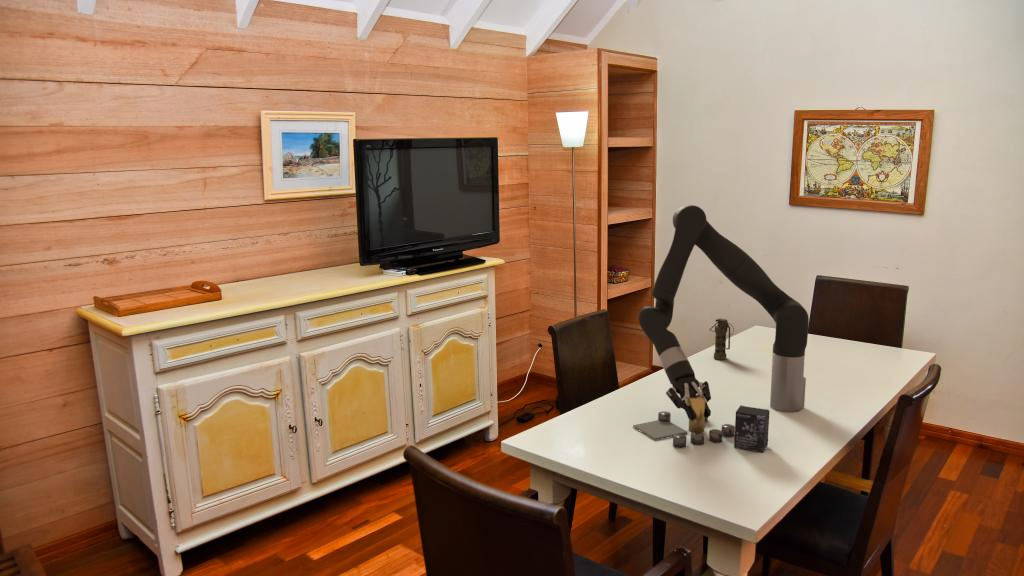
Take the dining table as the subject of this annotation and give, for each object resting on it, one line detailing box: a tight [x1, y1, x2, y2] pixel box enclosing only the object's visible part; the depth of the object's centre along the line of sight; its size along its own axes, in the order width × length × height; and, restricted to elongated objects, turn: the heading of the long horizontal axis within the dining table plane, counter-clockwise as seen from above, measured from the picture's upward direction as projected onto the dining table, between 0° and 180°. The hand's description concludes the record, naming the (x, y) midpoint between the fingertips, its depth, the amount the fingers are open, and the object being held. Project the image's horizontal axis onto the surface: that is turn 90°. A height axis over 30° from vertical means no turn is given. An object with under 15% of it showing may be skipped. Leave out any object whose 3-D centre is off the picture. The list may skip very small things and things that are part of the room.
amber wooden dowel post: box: [688, 394, 706, 434], centre depth 222 cm, size 4×4×10 cm
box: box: [733, 405, 771, 454], centre depth 210 cm, size 8×6×11 cm
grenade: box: [709, 318, 735, 361], centre depth 288 cm, size 9×6×15 cm, turn 50°
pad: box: [632, 419, 688, 441], centre depth 224 cm, size 11×11×1 cm
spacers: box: [657, 410, 735, 449], centre depth 223 cm, size 21×22×2 cm
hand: (701, 417), depth 220 cm, fingers closed on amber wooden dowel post, 4 cm apart
